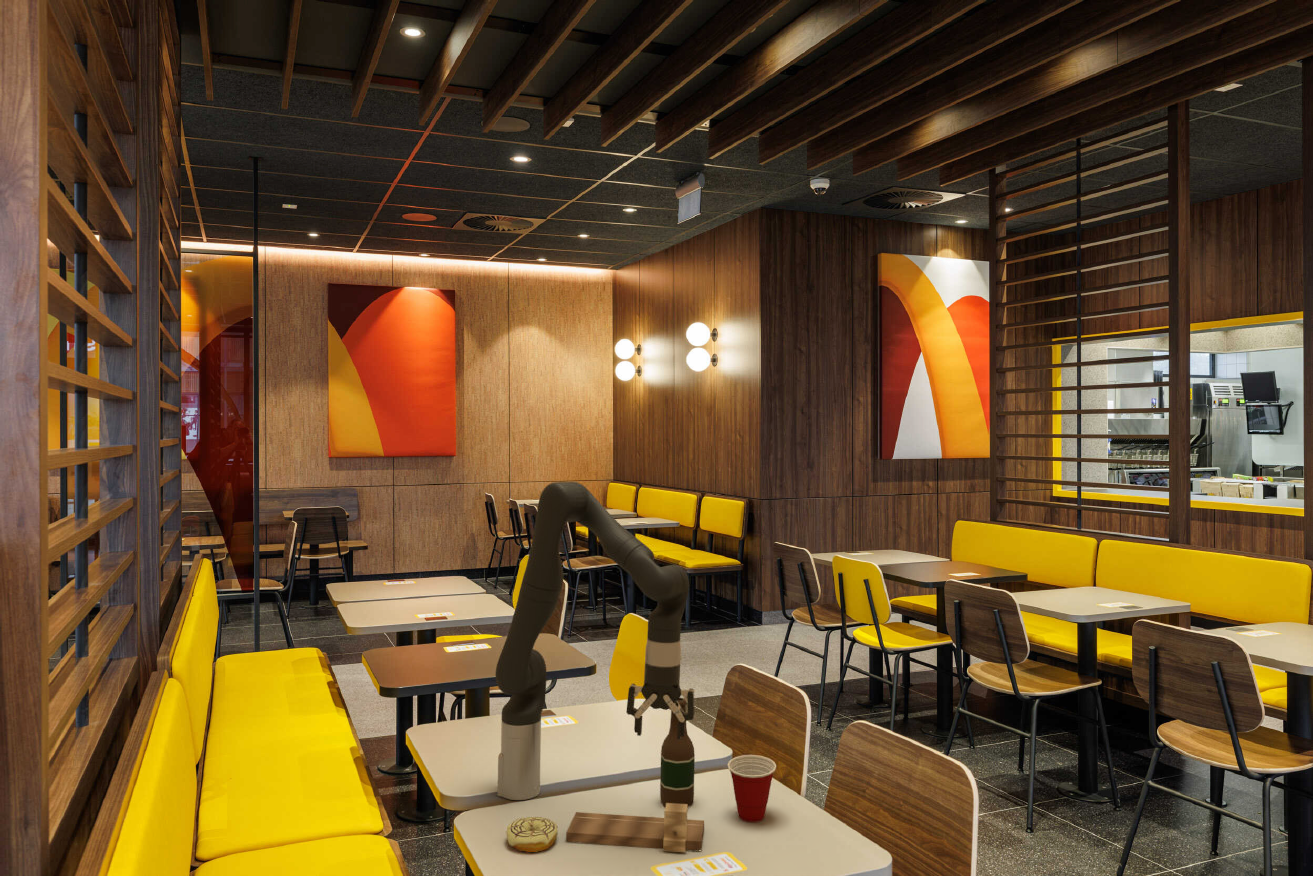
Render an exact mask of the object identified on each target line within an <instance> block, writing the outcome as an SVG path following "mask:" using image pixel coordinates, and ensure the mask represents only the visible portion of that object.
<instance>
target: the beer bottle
mask: <svg viewBox="0 0 1313 876" xmlns="http://www.w3.org/2000/svg"><path fill="white" fill-rule="evenodd" d="M677 702H678V703H679V704H680V706H681V709H682V710H683V711H684V713H687V712H686V711H687V709H686V707H687V706H686V705H688V701H685V700H684V697H681V696H680V697H679V699H678V700H677ZM670 710H671V709H670ZM678 721H679V719H678V718H677V716H676V715H675V714H674V713H673V711H672V710H671V711H670V722H669V723H670V725H669V731H668V734H667V736H666V737H665V738H664V740H663V743H662V745H661V749H660V784H659V785H660V786H659V787H660V788H659V795H660V802H661V803H662V806H664V808H665V807H666V803H675V804H688V808H689V807H691V806H692V805H693V804H694V800H695V799H694V797H695V763H696V762H695V746H694V744H693V741H692V740H691V738H690V736H689V735H688V729H687V721H685V733H684V736H683V737H681V740H680V739H677V732H678Z"/></svg>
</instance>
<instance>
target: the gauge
mask: <svg viewBox="0 0 1313 876" xmlns="http://www.w3.org/2000/svg"><path fill="white" fill-rule="evenodd" d="M664 808H665V809H664V817H663V818H664V840H663V852H675V853H686V850H685V843H686V836H687V819H688V808H689V807H688V804H675V803H666V807H665V806H664Z"/></svg>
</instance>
